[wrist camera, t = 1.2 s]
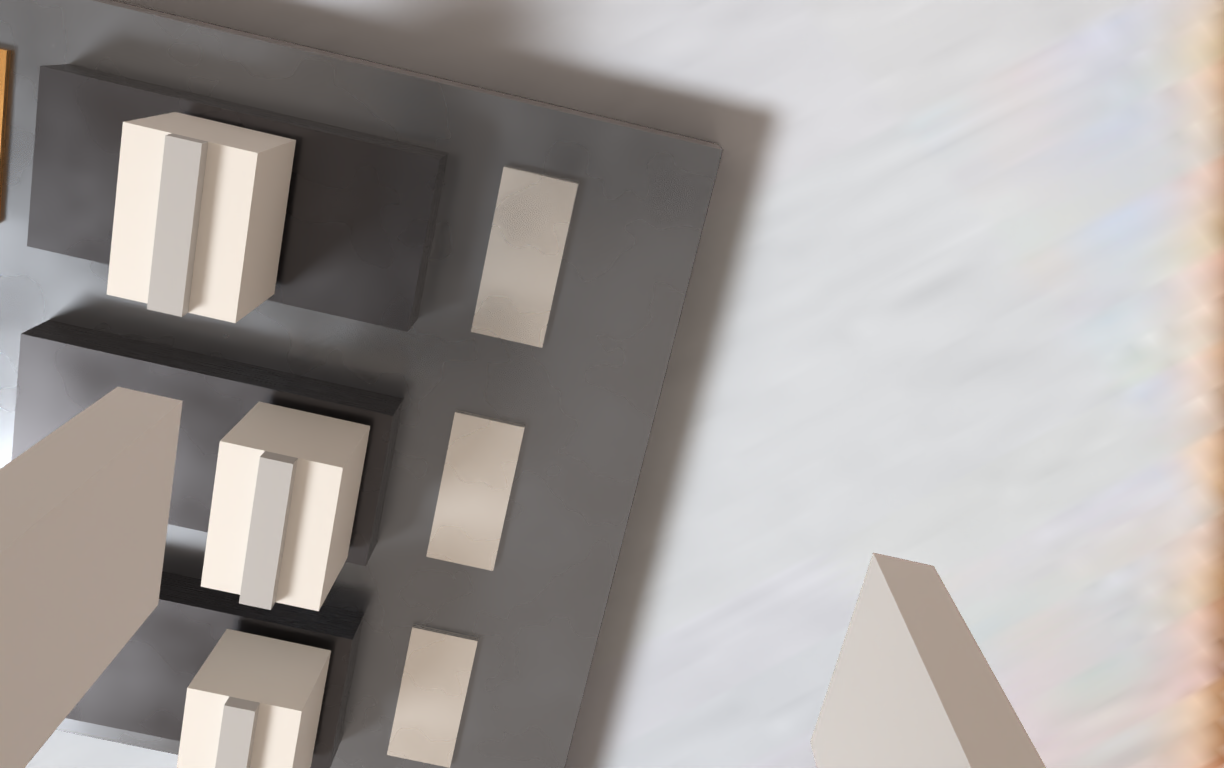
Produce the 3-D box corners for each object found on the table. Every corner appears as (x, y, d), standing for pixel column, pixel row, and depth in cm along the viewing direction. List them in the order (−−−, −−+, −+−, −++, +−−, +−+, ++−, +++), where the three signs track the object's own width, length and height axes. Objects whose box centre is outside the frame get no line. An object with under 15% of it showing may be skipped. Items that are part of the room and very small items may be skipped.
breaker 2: (240, 534, 31) (194, 593, 28) (259, 401, 30) (213, 446, 27) (347, 557, 31) (314, 619, 28) (370, 425, 30) (338, 474, 27)
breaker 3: (210, 745, 33) (164, 823, 30) (227, 628, 32) (181, 696, 29) (310, 766, 33) (276, 845, 30) (331, 650, 32) (297, 720, 29)
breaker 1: (158, 267, 29) (98, 298, 26) (175, 111, 28) (114, 123, 24) (274, 293, 29) (229, 327, 26) (296, 140, 28) (252, 155, 25)
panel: (-178, 650, 36) (-247, 703, 33) (-165, -66, 30) (-249, -75, 27) (551, 799, 38) (545, 862, 35) (718, 144, 31) (727, 156, 28)
